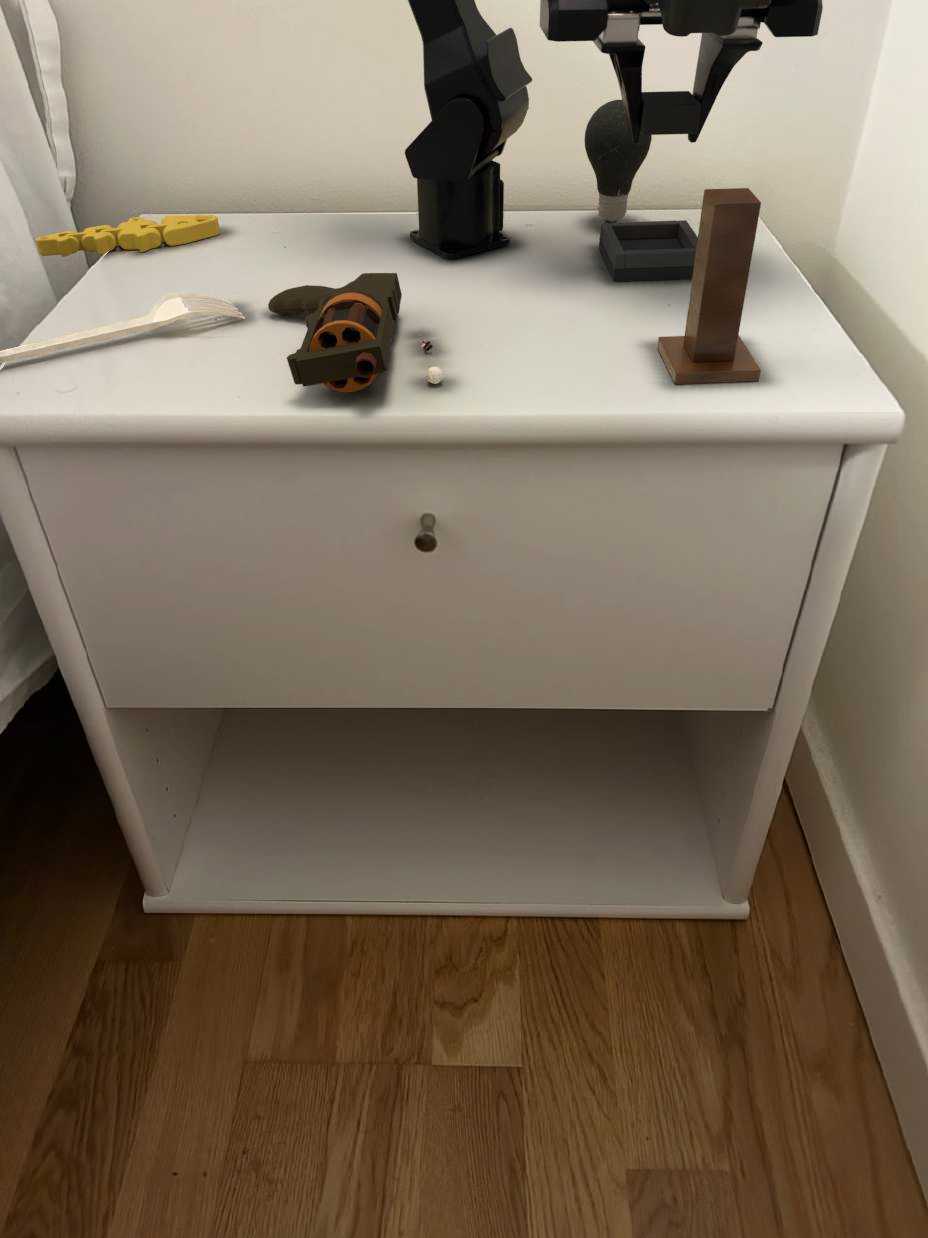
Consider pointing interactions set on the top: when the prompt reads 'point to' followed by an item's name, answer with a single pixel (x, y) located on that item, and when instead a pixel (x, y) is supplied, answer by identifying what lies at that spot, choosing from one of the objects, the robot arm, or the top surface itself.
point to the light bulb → (613, 158)
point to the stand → (717, 294)
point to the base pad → (648, 250)
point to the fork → (131, 324)
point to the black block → (670, 113)
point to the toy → (131, 235)
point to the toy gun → (343, 330)
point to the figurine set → (433, 373)
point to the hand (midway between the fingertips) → (663, 141)
